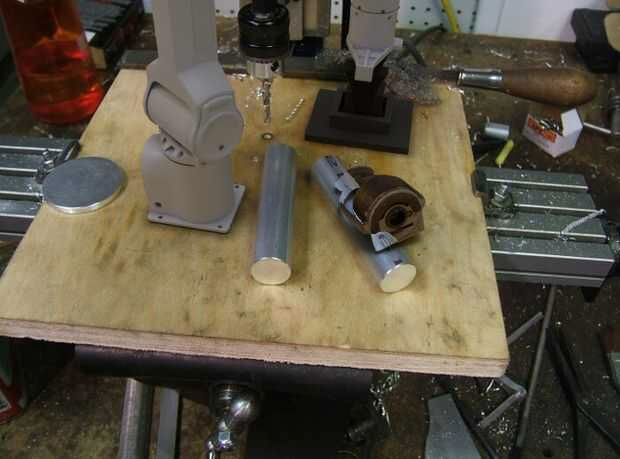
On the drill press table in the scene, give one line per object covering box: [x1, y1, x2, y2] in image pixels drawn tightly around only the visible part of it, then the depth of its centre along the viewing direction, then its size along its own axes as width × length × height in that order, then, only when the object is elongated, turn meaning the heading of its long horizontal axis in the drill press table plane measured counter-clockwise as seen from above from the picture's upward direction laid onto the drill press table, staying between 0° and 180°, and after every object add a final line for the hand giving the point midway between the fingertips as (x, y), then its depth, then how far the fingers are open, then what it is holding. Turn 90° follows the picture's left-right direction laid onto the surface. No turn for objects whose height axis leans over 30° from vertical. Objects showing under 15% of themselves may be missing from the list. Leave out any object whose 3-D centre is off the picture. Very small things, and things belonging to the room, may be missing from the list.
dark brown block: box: [344, 80, 387, 117], centre depth 77 cm, size 5×4×4 cm
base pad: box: [304, 87, 414, 155], centre depth 78 cm, size 14×12×3 cm
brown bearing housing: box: [338, 165, 426, 243], centre depth 63 cm, size 7×13×10 cm
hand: (363, 101), depth 77 cm, fingers closed on dark brown block, 4 cm apart
